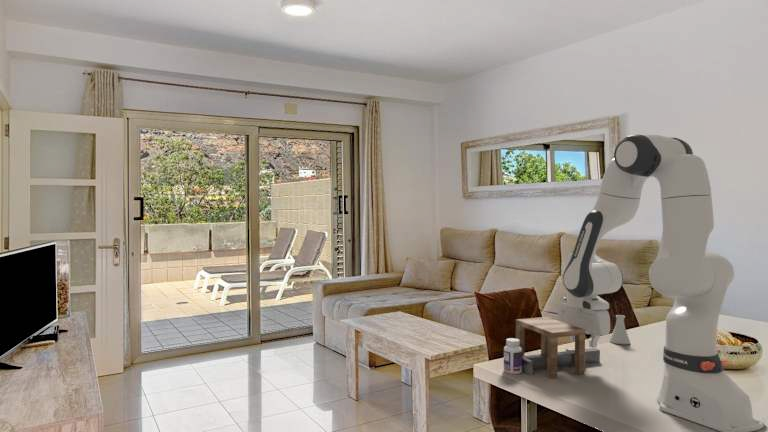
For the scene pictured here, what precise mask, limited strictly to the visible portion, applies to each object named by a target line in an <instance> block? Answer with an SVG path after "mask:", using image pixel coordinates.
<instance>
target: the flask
mask: <svg viewBox="0 0 768 432" xmlns="http://www.w3.org/2000/svg"><path fill="white" fill-rule="evenodd" d="M615 318H616V321H615V326H614V328H613V331H612V333H611V336H610V338H609V342H610V343H613V344H617V345H631V340H630V338H629V334H628V332H627V329H626V325H625V318H626V316H625V315H622V314H616V315H615Z"/></svg>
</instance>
